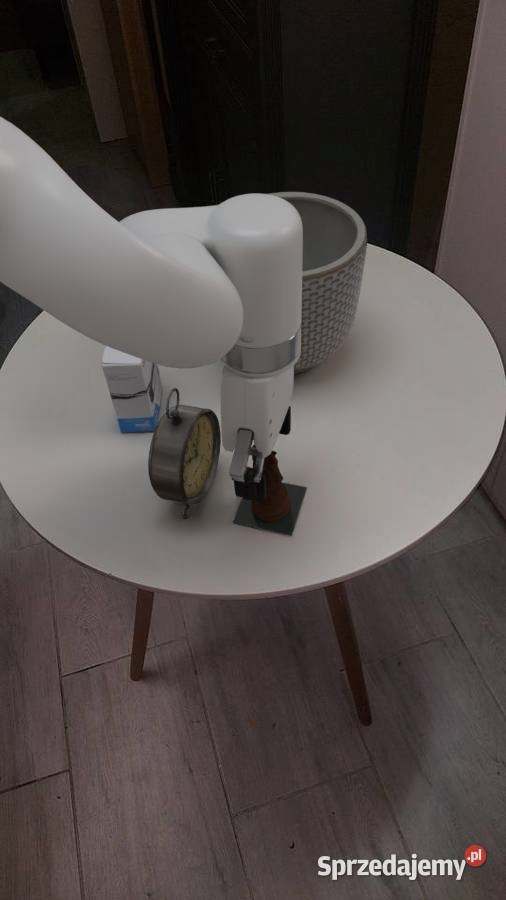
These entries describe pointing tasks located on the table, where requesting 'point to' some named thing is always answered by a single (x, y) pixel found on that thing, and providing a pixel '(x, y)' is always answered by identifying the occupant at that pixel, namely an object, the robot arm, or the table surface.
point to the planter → (327, 273)
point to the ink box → (133, 390)
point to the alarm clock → (184, 453)
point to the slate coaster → (282, 526)
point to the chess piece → (272, 492)
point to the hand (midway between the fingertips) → (264, 462)
